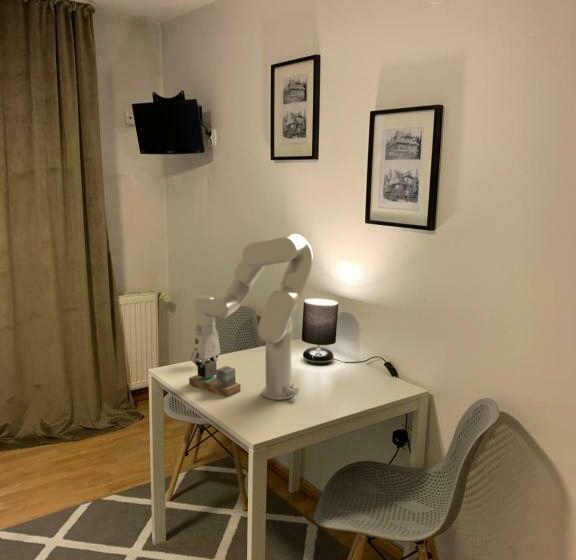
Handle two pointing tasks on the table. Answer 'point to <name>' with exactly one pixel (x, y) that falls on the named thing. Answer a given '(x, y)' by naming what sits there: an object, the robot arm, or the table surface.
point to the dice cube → (209, 368)
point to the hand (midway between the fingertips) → (207, 373)
